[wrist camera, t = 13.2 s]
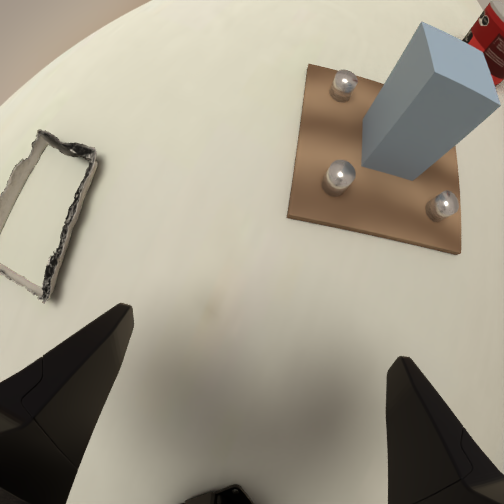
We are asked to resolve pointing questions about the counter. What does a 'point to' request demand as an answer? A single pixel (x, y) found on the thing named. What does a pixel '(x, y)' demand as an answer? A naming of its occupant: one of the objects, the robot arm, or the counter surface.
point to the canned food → (490, 38)
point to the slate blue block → (427, 104)
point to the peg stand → (366, 172)
